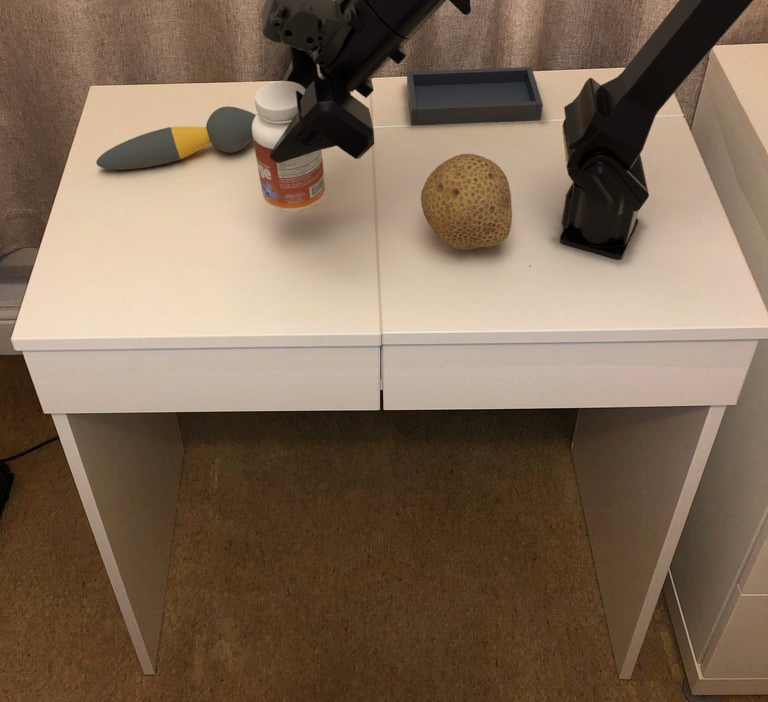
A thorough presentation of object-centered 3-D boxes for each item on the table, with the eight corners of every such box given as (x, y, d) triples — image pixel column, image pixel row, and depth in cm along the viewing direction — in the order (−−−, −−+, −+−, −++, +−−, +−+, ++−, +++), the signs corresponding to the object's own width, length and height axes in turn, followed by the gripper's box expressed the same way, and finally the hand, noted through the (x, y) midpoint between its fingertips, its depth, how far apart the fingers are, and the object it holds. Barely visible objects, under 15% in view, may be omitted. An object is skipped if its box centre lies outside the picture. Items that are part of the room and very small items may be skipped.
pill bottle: (260, 180, 87) (242, 81, 79) (321, 171, 88) (310, 71, 80) (266, 219, 83) (249, 118, 75) (330, 209, 84) (319, 108, 75)
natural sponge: (423, 211, 92) (424, 130, 85) (507, 215, 91) (517, 133, 84) (417, 269, 86) (418, 187, 79) (507, 273, 85) (517, 191, 78)
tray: (529, 82, 109) (531, 66, 107) (540, 120, 103) (542, 104, 101) (406, 87, 108) (406, 71, 107) (411, 125, 103) (411, 109, 101)
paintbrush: (104, 191, 95) (92, 153, 92) (97, 166, 98) (85, 128, 95) (277, 150, 100) (273, 112, 96) (265, 128, 103) (260, 90, 99)
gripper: (304, -96, 75) (199, 37, 82) (321, 5, 62) (196, 151, 70) (397, -14, 81) (292, 103, 88) (430, 92, 68) (304, 218, 76)
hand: (272, 138), depth 80 cm, fingers closed on pill bottle, 6 cm apart
